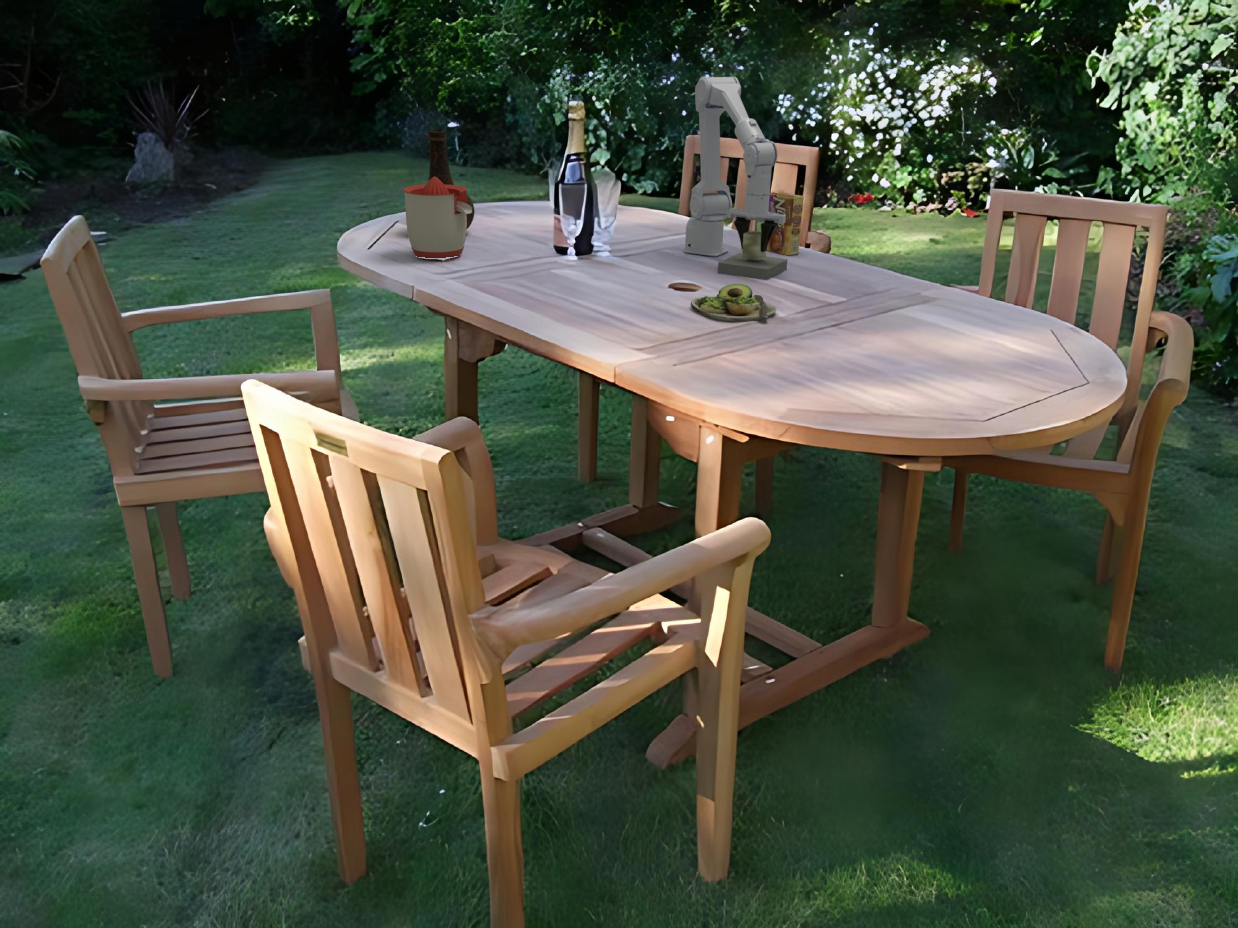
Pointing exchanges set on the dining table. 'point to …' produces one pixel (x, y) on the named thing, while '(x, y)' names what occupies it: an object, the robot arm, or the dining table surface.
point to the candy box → (786, 223)
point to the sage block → (752, 245)
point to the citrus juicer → (436, 218)
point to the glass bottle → (443, 164)
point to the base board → (752, 266)
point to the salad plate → (734, 305)
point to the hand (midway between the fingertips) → (753, 250)
